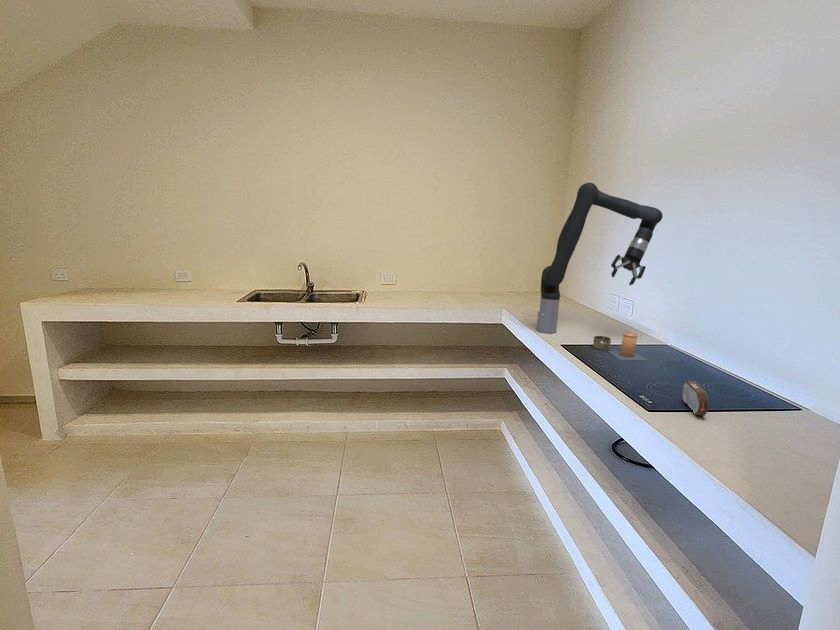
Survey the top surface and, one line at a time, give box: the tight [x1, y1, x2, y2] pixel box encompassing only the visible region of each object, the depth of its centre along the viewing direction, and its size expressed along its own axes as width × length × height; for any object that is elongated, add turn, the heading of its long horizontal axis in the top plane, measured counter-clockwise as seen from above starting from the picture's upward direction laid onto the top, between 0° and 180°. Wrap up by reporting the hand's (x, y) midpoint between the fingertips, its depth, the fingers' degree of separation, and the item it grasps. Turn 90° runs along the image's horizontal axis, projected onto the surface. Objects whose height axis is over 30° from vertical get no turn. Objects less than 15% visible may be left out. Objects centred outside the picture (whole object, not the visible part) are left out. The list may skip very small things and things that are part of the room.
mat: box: [607, 350, 648, 362], centre depth 207 cm, size 12×12×1 cm
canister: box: [592, 335, 612, 352], centre depth 217 cm, size 7×7×5 cm
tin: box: [681, 380, 709, 417], centre depth 154 cm, size 15×3×8 cm, turn 170°
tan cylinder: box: [620, 331, 638, 357], centre depth 206 cm, size 6×6×10 cm
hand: (621, 280), depth 221 cm, fingers open, 8 cm apart
